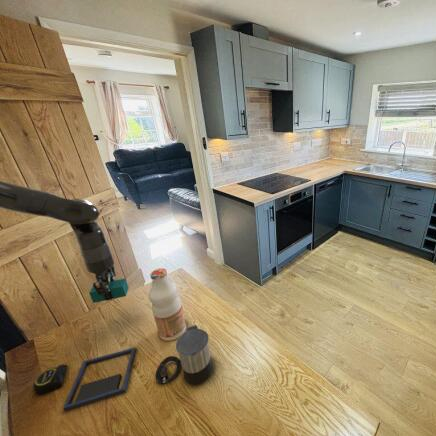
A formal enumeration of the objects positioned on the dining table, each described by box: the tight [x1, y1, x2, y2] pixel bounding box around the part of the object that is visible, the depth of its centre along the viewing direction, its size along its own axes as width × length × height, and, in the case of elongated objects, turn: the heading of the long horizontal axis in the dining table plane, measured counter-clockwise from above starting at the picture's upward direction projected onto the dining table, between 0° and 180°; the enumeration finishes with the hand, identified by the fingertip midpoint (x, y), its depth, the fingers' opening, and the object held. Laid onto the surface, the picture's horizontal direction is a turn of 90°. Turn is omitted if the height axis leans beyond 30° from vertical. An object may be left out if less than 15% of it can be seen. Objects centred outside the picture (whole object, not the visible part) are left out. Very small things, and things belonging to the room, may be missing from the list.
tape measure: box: [32, 363, 69, 395], centre depth 72 cm, size 7×7×4 cm
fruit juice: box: [148, 267, 187, 342], centre depth 86 cm, size 9×9×28 cm
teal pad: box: [88, 277, 130, 304], centre depth 87 cm, size 10×5×5 cm, turn 112°
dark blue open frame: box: [62, 347, 137, 412], centre depth 74 cm, size 15×15×2 cm
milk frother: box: [155, 324, 214, 386], centre depth 74 cm, size 14×16×15 cm
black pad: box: [74, 373, 122, 402], centre depth 71 cm, size 10×5×2 cm, turn 111°
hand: (111, 294), depth 88 cm, fingers closed on teal pad, 5 cm apart
